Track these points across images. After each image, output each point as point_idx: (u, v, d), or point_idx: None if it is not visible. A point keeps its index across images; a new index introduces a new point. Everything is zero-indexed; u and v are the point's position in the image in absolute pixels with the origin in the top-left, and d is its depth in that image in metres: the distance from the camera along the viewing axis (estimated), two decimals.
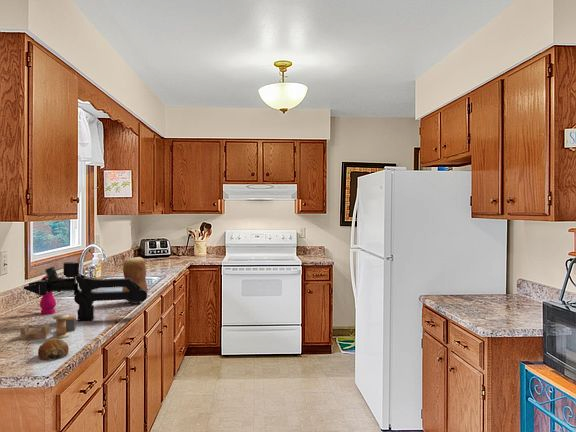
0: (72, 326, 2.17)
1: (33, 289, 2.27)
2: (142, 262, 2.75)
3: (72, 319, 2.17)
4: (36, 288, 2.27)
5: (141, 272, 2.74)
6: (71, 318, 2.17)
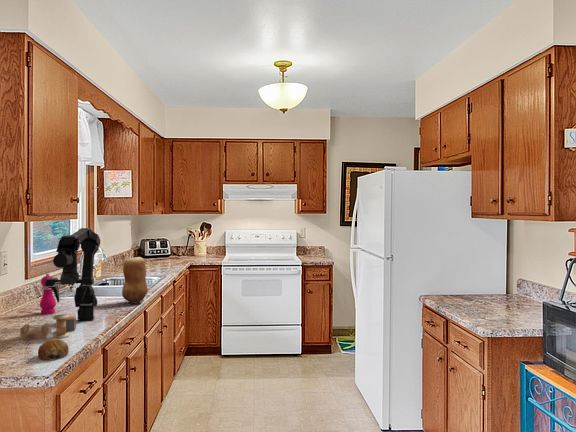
0: (72, 326, 2.17)
1: (85, 291, 2.20)
2: (142, 262, 2.75)
3: (72, 319, 2.17)
4: None
5: (141, 271, 2.74)
6: (71, 318, 2.17)
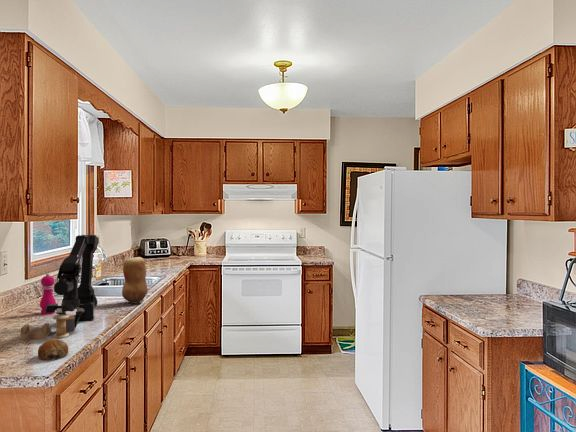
0: (72, 326, 2.17)
1: (79, 316, 2.20)
2: (142, 262, 2.75)
3: (72, 319, 2.17)
4: None
5: (141, 272, 2.74)
6: (71, 318, 2.17)
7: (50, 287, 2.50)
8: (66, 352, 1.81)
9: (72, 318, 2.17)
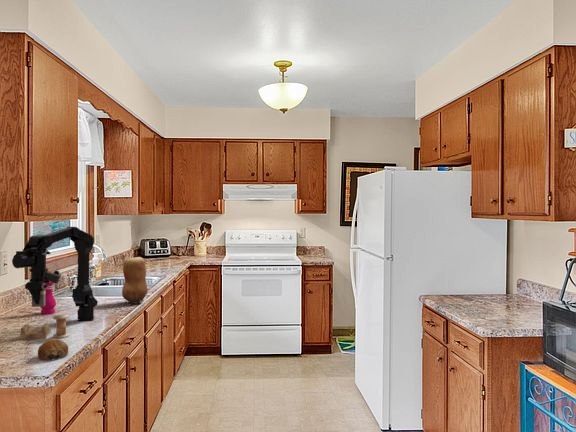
0: None
1: None
2: (142, 262, 2.75)
3: None
4: None
5: (141, 271, 2.74)
6: (44, 292, 2.14)
7: (50, 287, 2.50)
8: (66, 352, 1.80)
9: None
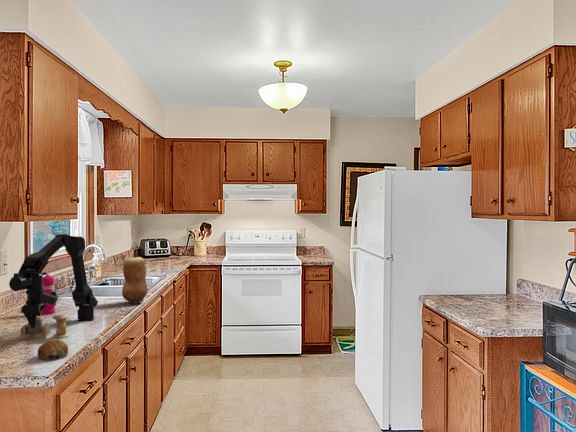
0: None
1: None
2: (142, 262, 2.75)
3: (41, 318, 2.08)
4: None
5: (141, 271, 2.74)
6: (41, 318, 2.08)
7: (50, 287, 2.50)
8: (66, 352, 1.80)
9: None
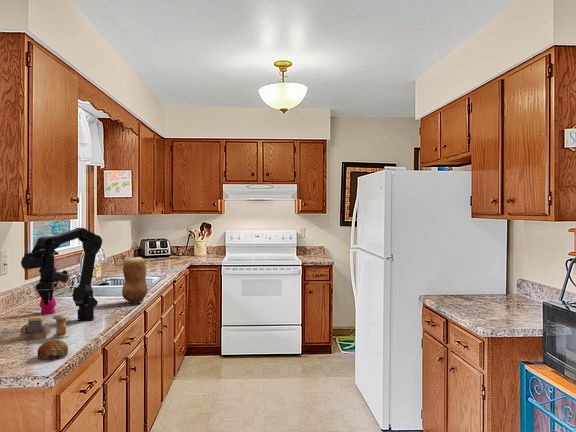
0: None
1: None
2: (142, 262, 2.75)
3: (41, 318, 2.08)
4: None
5: (141, 272, 2.74)
6: (41, 318, 2.08)
7: None
8: (66, 352, 1.80)
9: None
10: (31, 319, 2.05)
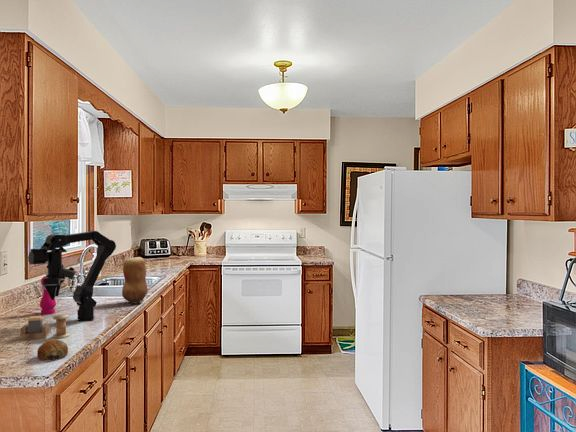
0: None
1: None
2: (142, 262, 2.75)
3: (41, 318, 2.08)
4: None
5: (141, 272, 2.74)
6: (41, 318, 2.08)
7: None
8: (66, 353, 1.80)
9: None
10: (31, 319, 2.05)
